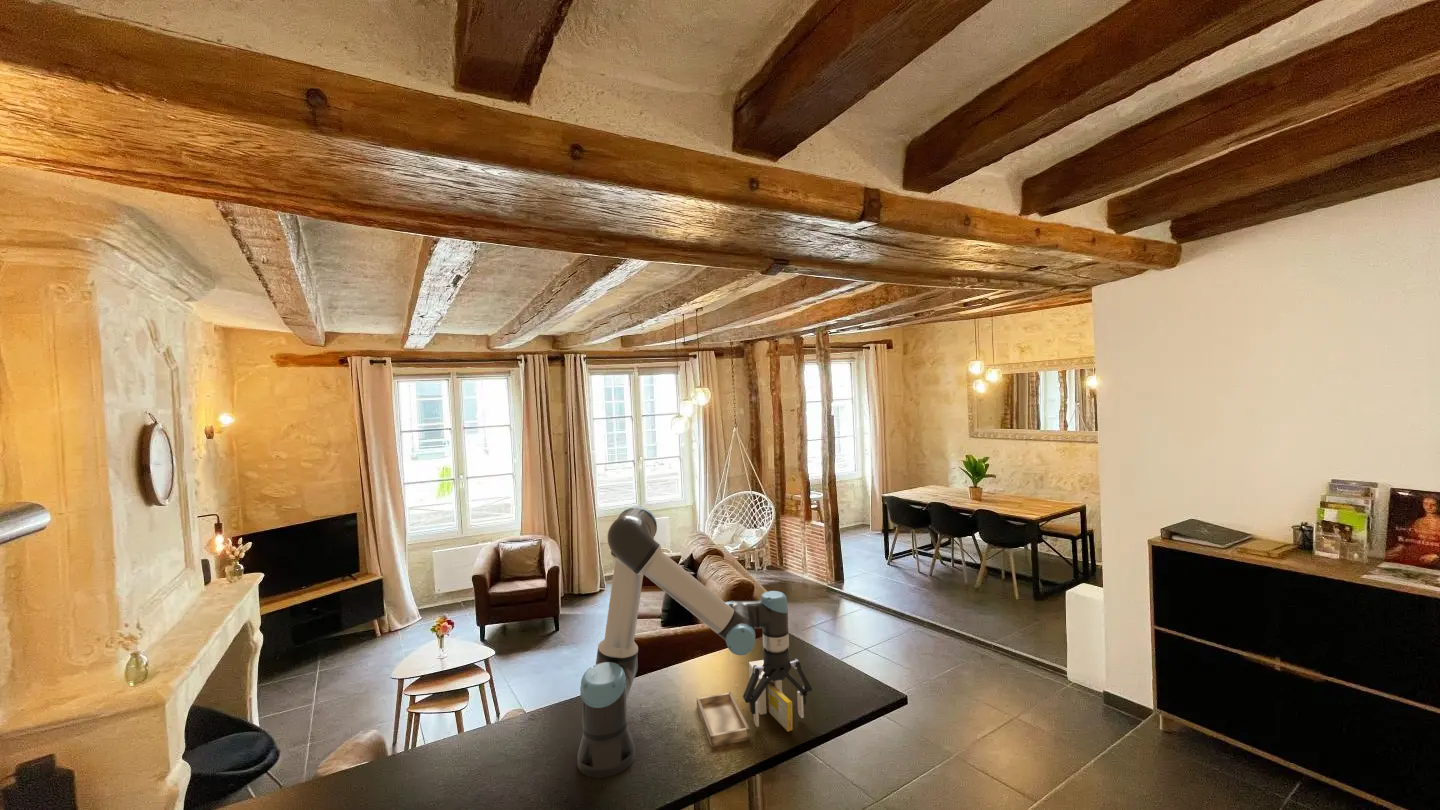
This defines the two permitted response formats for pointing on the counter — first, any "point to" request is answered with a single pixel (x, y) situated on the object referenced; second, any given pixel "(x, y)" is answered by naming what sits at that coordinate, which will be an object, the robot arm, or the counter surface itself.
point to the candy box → (779, 706)
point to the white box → (762, 698)
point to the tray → (722, 719)
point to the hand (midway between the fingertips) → (778, 719)
